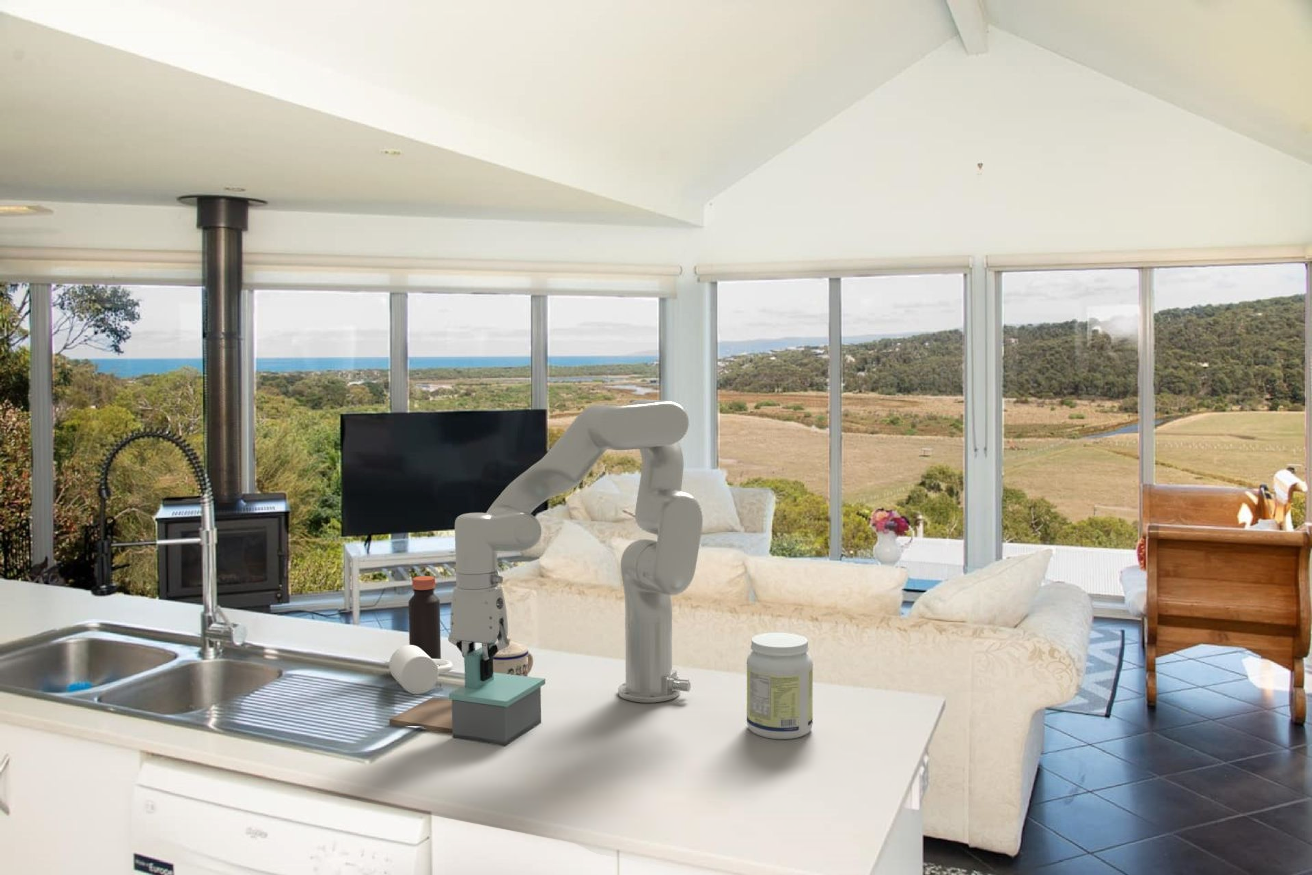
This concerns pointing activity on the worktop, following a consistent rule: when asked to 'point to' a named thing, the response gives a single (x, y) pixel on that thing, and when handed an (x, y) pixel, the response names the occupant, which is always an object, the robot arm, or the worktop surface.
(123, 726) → the worktop surface
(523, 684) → the lid
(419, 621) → the bottle
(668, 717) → the worktop surface
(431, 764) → the worktop surface
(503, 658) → the teacup with lid
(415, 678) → the mug
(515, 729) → the tub
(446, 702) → the board
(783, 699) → the supplement tub
